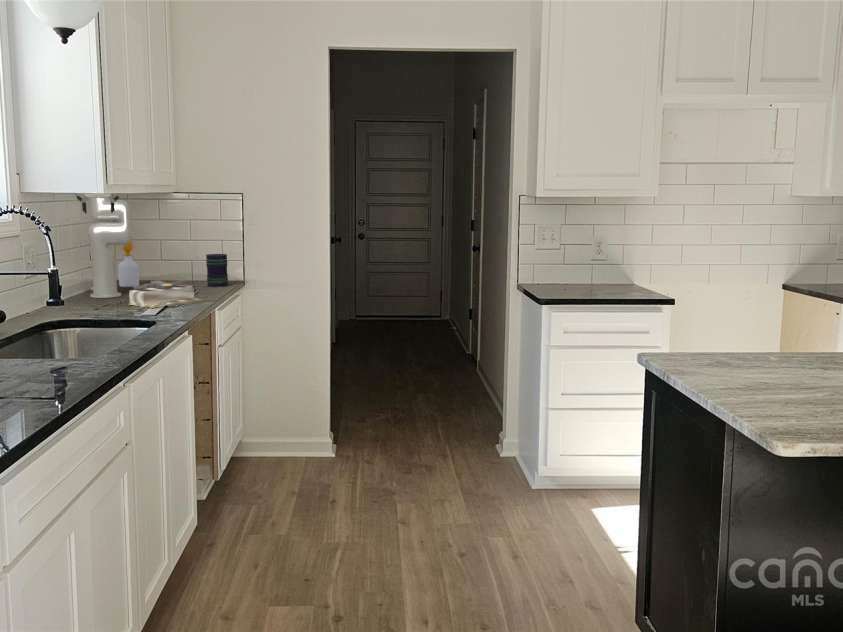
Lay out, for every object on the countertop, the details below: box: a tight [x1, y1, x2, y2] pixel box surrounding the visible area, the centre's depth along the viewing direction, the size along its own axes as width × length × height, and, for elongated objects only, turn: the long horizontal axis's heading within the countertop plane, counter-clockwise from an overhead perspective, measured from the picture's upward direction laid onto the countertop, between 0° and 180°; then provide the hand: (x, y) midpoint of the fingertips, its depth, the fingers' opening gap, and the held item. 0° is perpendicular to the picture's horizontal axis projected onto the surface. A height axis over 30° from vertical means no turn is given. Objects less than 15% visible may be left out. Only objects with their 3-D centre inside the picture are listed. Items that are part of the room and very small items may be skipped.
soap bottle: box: [117, 238, 140, 288], centre depth 407 cm, size 9×9×25 cm
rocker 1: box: [132, 283, 157, 290], centre depth 342 cm, size 9×4×1 cm, turn 52°
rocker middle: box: [149, 279, 174, 289], centre depth 348 cm, size 9×4×1 cm, turn 52°
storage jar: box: [205, 253, 229, 288], centre depth 408 cm, size 10×10×15 cm
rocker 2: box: [167, 279, 190, 286], centre depth 355 cm, size 9×4×1 cm, turn 52°
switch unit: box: [128, 284, 204, 309], centre depth 348 cm, size 15×25×6 cm, turn 142°
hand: (98, 213), depth 334 cm, fingers open, 9 cm apart
